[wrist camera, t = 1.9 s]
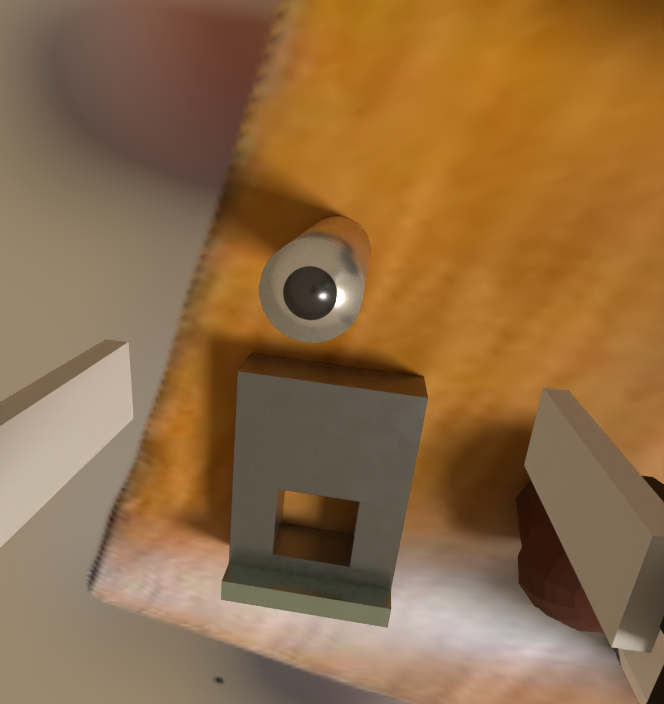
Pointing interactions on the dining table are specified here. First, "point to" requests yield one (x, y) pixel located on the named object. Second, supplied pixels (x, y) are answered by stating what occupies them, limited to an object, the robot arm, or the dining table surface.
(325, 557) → the jig
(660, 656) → the wine bottle
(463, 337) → the dining table surface
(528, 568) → the muffin
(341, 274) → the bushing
